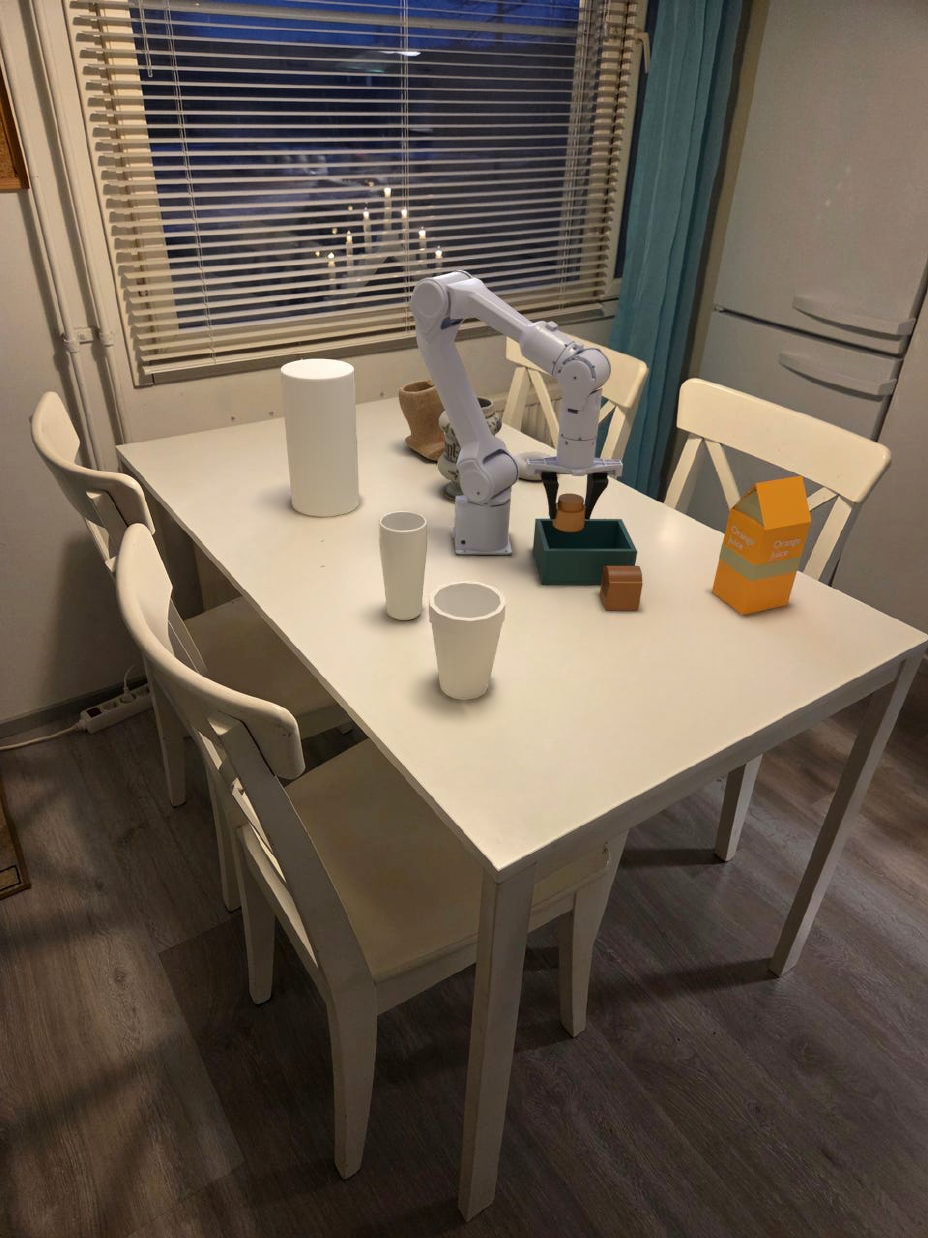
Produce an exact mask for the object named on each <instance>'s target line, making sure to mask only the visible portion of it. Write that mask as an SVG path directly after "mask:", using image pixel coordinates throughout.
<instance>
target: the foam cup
mask: <svg viewBox="0 0 928 1238" xmlns="http://www.w3.org/2000/svg"><path fill="white" fill-rule="evenodd" d="M506 605H507V604H506V599H505V595H504V594H503V593H502V592H500V590H498V589H497V588H496V587H495V586H492V585H489V584H486V583H484V582H480V581H470V580H460V581H459V580H458V581H450V582H446V583H445V584H444V583H443V584H442V585H440V586H437V587H435V588H434V590H433V591H431V593H430V594H429V596H428V618H429V622H430V624H431V629H432V636H433V643H434V650H435V658H436V666H437V672H438V678H439V680H438V681H439V686H440V690H441V691H442V692H443V693H444V695H446V696H447V697H450V698H452V699H455V700H463V701H468V700H475V699H477V698H479V697H481V696H483V695H485V694H486V692H487V690H488V688H489V685H490V680H491V677H492V672H493V667H494V664H495V663H494V662H495V659H496V655H497V654H496V653H497V649H498V644H499V641H500V636H501V630H502V626H503V623H504V622H505V619H506Z"/></svg>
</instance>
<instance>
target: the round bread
mask: <svg viewBox="0 0 928 1238" xmlns="http://www.w3.org/2000/svg"><path fill="white" fill-rule="evenodd" d="M584 503H585V498H584V497H583V496H582V495H580V494H577V493H571V492H569V493H568V492H567V493H562V494H560V495H559V496H557V501H556V516H555V519H553V526H554V527H555V528H557V529H559V530H561V531H566V532H575V531H579V530H582V529H583V528H584V523H585V514H586V506H585V505H584Z"/></svg>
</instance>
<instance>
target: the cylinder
mask: <svg viewBox="0 0 928 1238" xmlns="http://www.w3.org/2000/svg"><path fill="white" fill-rule="evenodd" d="M355 380H356V379H355V367H354V366H353V365H352V364H350V363H348V362H345V361H343V360H338V359H332V358H331V359H330V358H306V359H305V358H304V359H299V360H294V361H291V362H287V363H286V364H283V365H282V366H281V367H280V381H281V393H282V404H283V405H282V406H283V416H284V426H285V427H284V429H285V438H286V439H285V440H286V451H287V462H288V472H289V473H288V474H289V484H290V485H289V486H290V497H291V505H292V508H293V509H294V510H295V511H296V512H298V513H300V514H302V515H306V516H310V517H319V518H320V517H321V518H323V517H324V518H326V517H335V516H336V517H337V516H341V515H346V514H348V513H350V512H353V511H354V510H355V509H356V508H357V507H358V506H359V505H360V482H359V457H358V431H357V406H356V405H357V404H356V382H355Z"/></svg>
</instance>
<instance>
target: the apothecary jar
mask: <svg viewBox="0 0 928 1238" xmlns="http://www.w3.org/2000/svg"><path fill="white" fill-rule="evenodd" d="M476 397H477V399H478V402H479V404H480V407H481V409H482V411H483V414H484V416H485V419H486V421H487V424H488V426H489V429H490V431H491V433H492V435H494V436H495V437H496V435H497V434H498V433H499V432H500V431H501V429H502V427H503V420H502V417H501V416H500V414H499V413H497V411H496V409H495V404H494V401H493V400H492V399H490V398H487V397H486V396H485V397H484V396H478V395H476ZM439 426H440V428H441V430H442V431H443V432H444V434H445V448H444V453H443V454H442V455H441V456H440V458H439V460H438V461H437V463H436V465H437V466H436V467H437V470H438V472H439V473H440V475H441V476H442V477H444V478H445V479H447V480H448V481H450V483H447V485H445V486H444V487H443V488H442V489H443V490H442V494H443V496H444V497H445V498H447V499H449V500H450V501H453V502H455V498H456V496H462V495H464V493H463V492H462V489H461V486H460V474H459V470H458V468H457V466H456V464H457V460H458V457H459V454H460V450H461V447H460V445H459V442H458V440H457V437H456V435H455V433H454V430H453V428H452V426H451V423H450V421H449V419H448V416H447V414H446V411H444V412H443V413H442V414H441V416H440V418H439ZM484 459H485V458H484Z"/></svg>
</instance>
